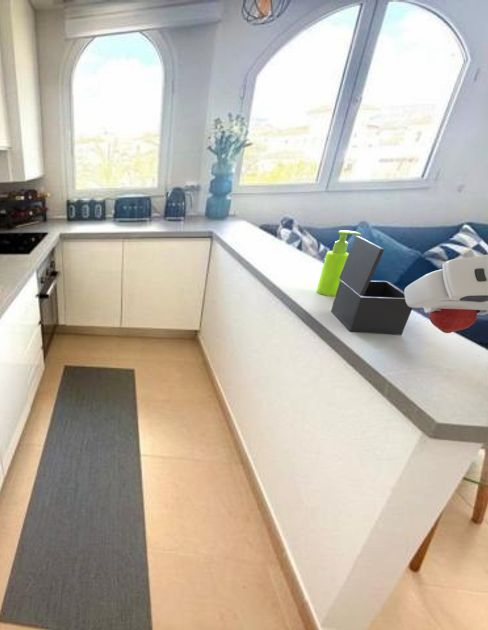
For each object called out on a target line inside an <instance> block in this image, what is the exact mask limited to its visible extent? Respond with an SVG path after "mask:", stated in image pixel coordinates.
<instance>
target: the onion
mask: <svg viewBox="0 0 488 630" xmlns="http://www.w3.org/2000/svg"><path fill="white" fill-rule="evenodd" d="M477 319H478V315H477V312H476V310H468V309H441V311H439V312H436V313H429V321H430V323H431V324H432V326H434V327H435V328H437V330H439V331H440V332H442V333H444V334H451V333H455V332H459V331H462V330H466V329H468V328H470V327H471V326H472V325H474V324H475V322H476V321H477Z"/></svg>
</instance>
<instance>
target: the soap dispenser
mask: <svg viewBox="0 0 488 630" xmlns="http://www.w3.org/2000/svg"><path fill="white" fill-rule="evenodd" d="M337 234H338V235H339V238H338V240H335V241H334V244H333V247H332V250H329V251H327V252H326V253H325V259H324V262H323V265H322V270H321V273H320V277H319V281H318V284H317V288H316V292H317V293H318V294H319V295H323V296H329V297H335V296H336V293H337V289H338V286H339V282H340V280H341V279H340V278H339V277H340V275H341V272H342V270H343V267H344V265H345V262H346V260H347V257H348V255H349V252H347V250H348V246H349V241H347V238H348V235H351V236H355V237H356V236H361V235H362V233H361V232H359V231H354V230H339V231H337Z"/></svg>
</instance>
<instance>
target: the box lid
mask: <svg viewBox="0 0 488 630" xmlns="http://www.w3.org/2000/svg"><path fill="white" fill-rule="evenodd" d="M384 251H385V248H383V247H381V246H379V245H378V244H375V243H374V242H372V241H370V240H368V239H366V238H364V237H362V236H361V235H359V236H356V235H355V238H354V240H353V242H352V245H351V247H350V249H349V252H348V253H349V255H348V257H347V260H346V262H345V265H344V267H343V270H342V272H341V275H340V277H339V278H340V279H341V280H342V281H343V282H344V283H346V284H347V285H348V286H349V287H350V288H352V289H353V290H354V291H355V292H356V293H358V294H359V295H360V296H364V294H365V292H366V289H367V287H368V285H369V283H370V281H372V278H373V276H374V274H375V272H376V270H377V267H378V265H379V262H380V261H381V258H382V256H383V254H384Z"/></svg>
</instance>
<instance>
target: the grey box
mask: <svg viewBox="0 0 488 630" xmlns="http://www.w3.org/2000/svg"><path fill="white" fill-rule="evenodd" d="M333 299H334V300H333V302H332V307H331V309H330V311H331V313H332V314H333V315H334V317H335V318H336V319H337V320H338V321H339V322H340V323H341V324H342V325H343V326H344V327H345V328H346V329H347V331H348V332H350V333H363V334H365V333H366V334H378V335H379V334H380V335H395V334H400V336H402V335H403V333H404V330H405V328H406V325H407V323H408V320H409V318H410V315H411V313H412V310H413V308H412V307H409V306H408V305H407V303H406V301H405V295H404V290H402V289H401V288H399V287H398V286H396V285H394V284H393V283H392V282H391V281H389V280H370V283H369V285H368V287H367V289H366V292H365V294H364V296H360V295H359V294H358V293H356V292H355V291H354V290H353V289H352V288H350V287H349V286H348V285H347V284H346V283H344V282H343V281H342V280H340V282H339V286H338V289H337V293H336V296H334V298H333Z"/></svg>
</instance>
